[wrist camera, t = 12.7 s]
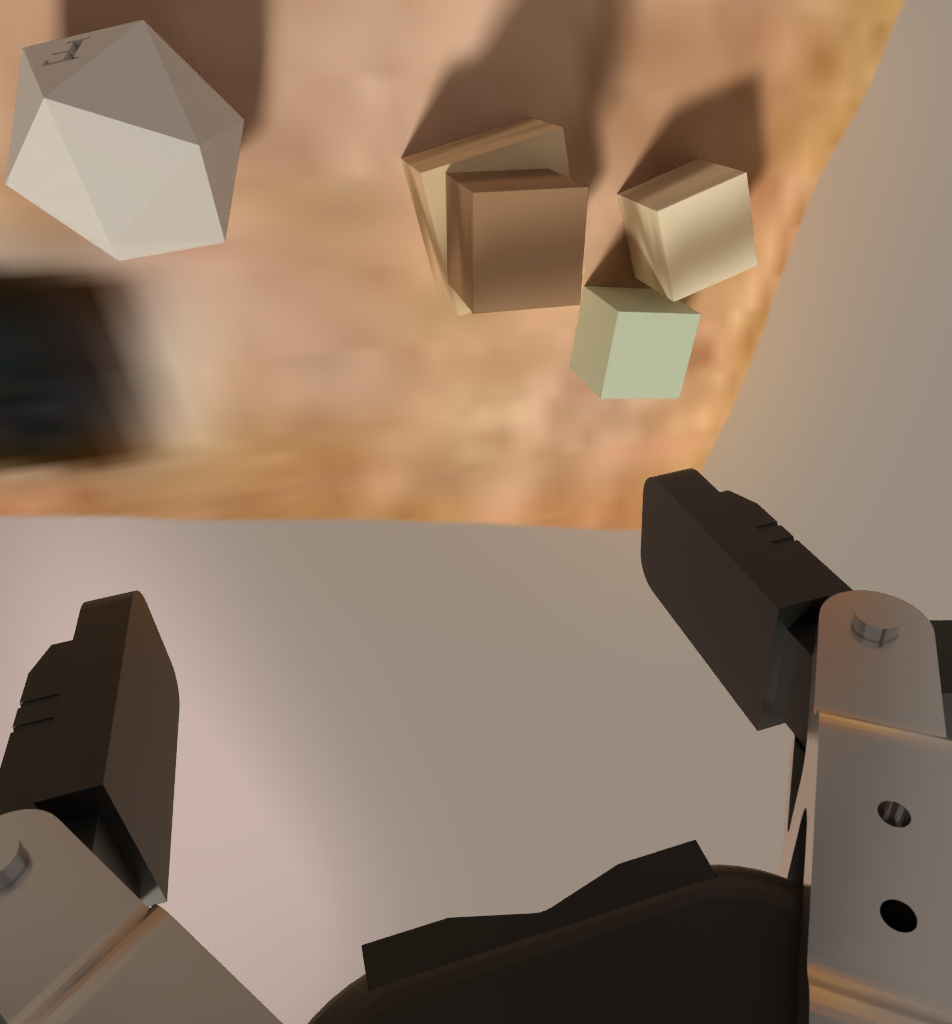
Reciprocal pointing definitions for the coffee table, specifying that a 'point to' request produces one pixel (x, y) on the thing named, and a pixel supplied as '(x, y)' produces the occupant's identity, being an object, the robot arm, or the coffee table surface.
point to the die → (124, 142)
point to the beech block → (689, 228)
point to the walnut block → (515, 239)
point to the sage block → (632, 343)
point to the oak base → (480, 152)
